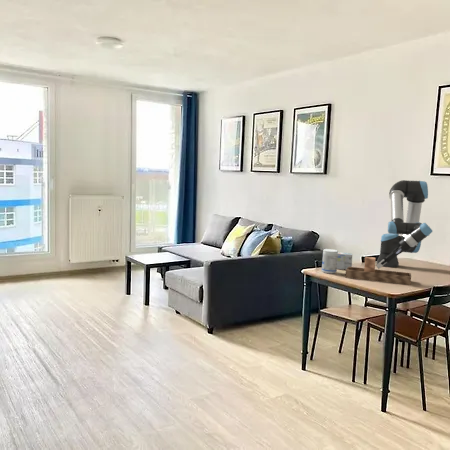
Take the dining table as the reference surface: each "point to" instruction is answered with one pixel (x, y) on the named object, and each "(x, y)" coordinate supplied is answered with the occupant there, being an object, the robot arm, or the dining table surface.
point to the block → (369, 264)
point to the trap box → (379, 275)
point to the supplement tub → (329, 261)
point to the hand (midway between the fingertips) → (377, 267)
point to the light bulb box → (344, 260)
